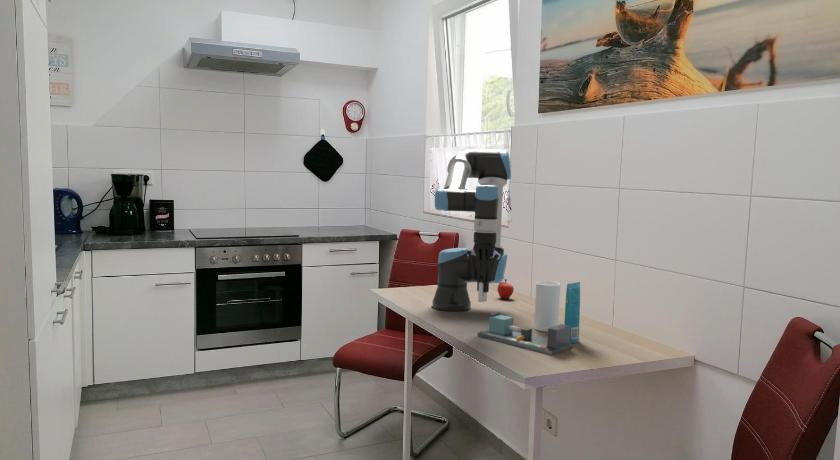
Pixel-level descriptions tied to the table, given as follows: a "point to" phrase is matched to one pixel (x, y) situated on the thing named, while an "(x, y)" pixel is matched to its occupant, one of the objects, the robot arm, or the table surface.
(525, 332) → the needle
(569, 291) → the tube
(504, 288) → the apple
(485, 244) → the robot arm
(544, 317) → the cup
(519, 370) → the table surface
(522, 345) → the rail base
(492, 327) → the block
